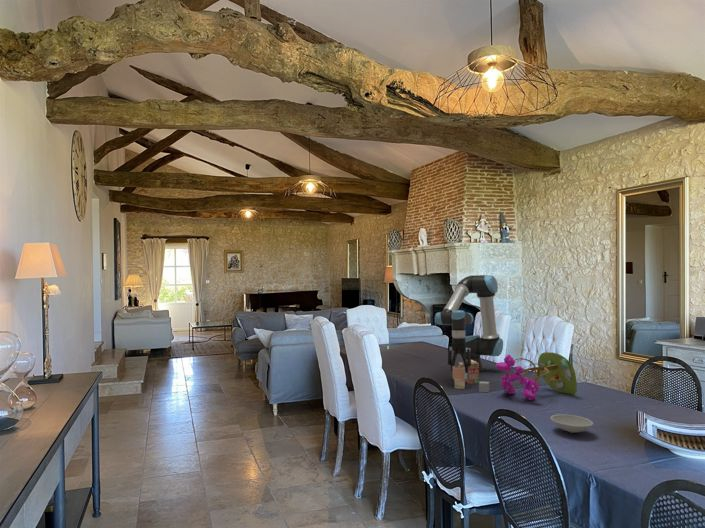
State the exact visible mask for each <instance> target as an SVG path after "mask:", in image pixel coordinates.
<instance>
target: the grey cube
mask: <svg viewBox="0 0 705 528" xmlns="http://www.w3.org/2000/svg"><path fill="white" fill-rule="evenodd" d="M478 387H479V388H478V390H479V391H478V392H479V393H484V392H488V393H487V394H489V393H490V381H481V380H479V384H478Z"/></svg>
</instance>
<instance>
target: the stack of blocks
mask: <svg viewBox="0 0 705 528" xmlns="http://www.w3.org/2000/svg"><path fill="white" fill-rule="evenodd" d="M457 367H465V366H464V362H463V359H462V360H461V362H457ZM479 382H480V372H479V363H477V362H476V361H473V360H471V366H469V367H468V373H467V378H466V379H465V383H467V384H468V385H471V384H473V385H476V384H477V383H479ZM477 385H478V384H477Z"/></svg>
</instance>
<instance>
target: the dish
mask: <svg viewBox="0 0 705 528" xmlns="http://www.w3.org/2000/svg"><path fill="white" fill-rule="evenodd" d="M550 420H551V422H553V423H554V424H555V425H556V426H557V427H558V428H559V429H561V430H563V431H566V432H569V434H570V433H571V434H575V433H583V432H585V431H587V430H589V429H590V427H592V426H593V425H594V422H593V420H590V419H589V418H586V417H583V416H579V415H574V414H573V415H572V414H564V413H563V414H562V413H560V414H559V413H558V414H553V415H551V416H550Z"/></svg>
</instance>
